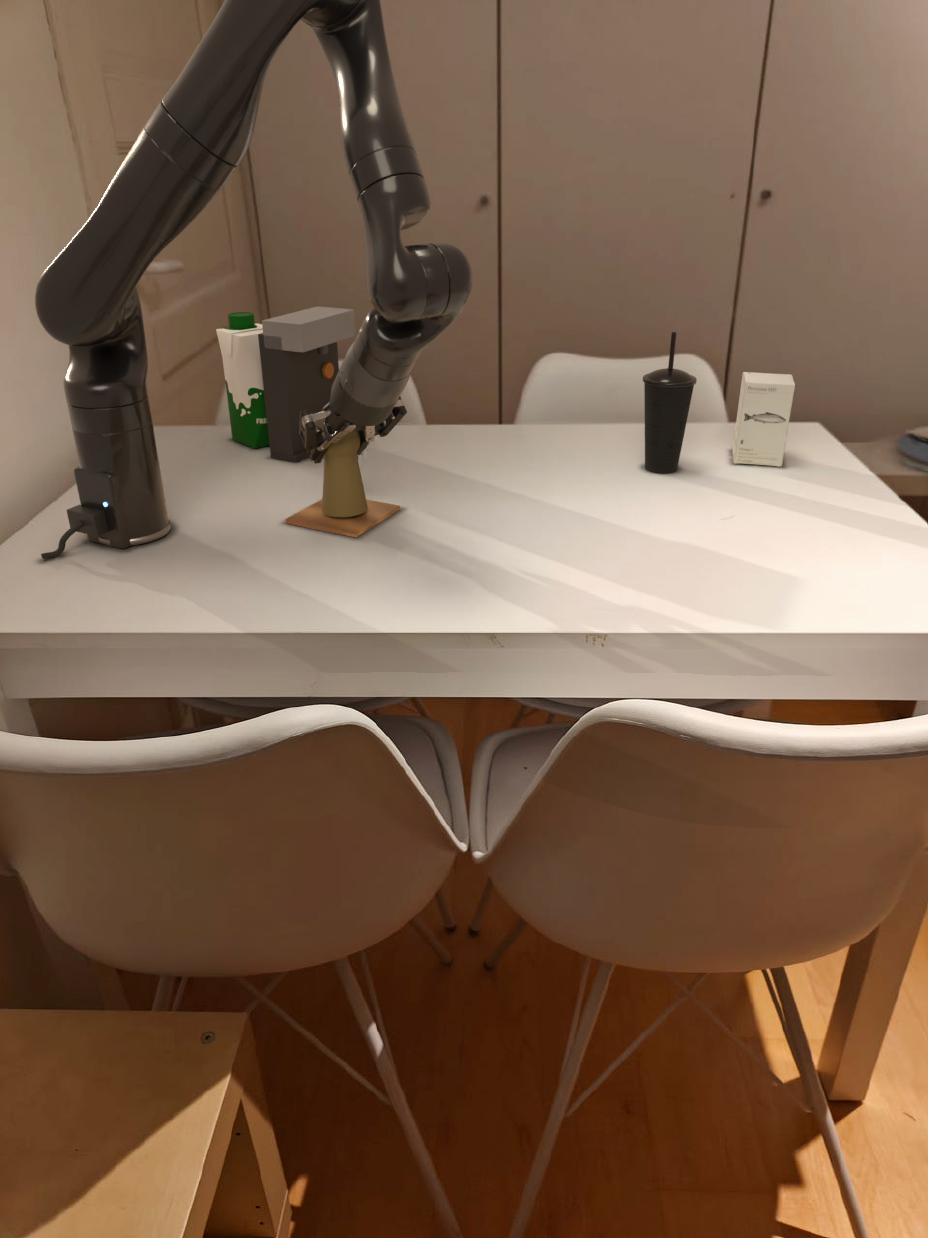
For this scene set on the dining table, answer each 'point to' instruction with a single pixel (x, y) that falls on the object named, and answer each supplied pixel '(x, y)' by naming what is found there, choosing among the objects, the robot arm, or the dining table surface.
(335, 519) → the coaster
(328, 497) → the pepper shaker
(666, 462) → the drinking cup
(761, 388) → the white packaging box
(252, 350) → the milk carton
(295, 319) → the coffee machine
